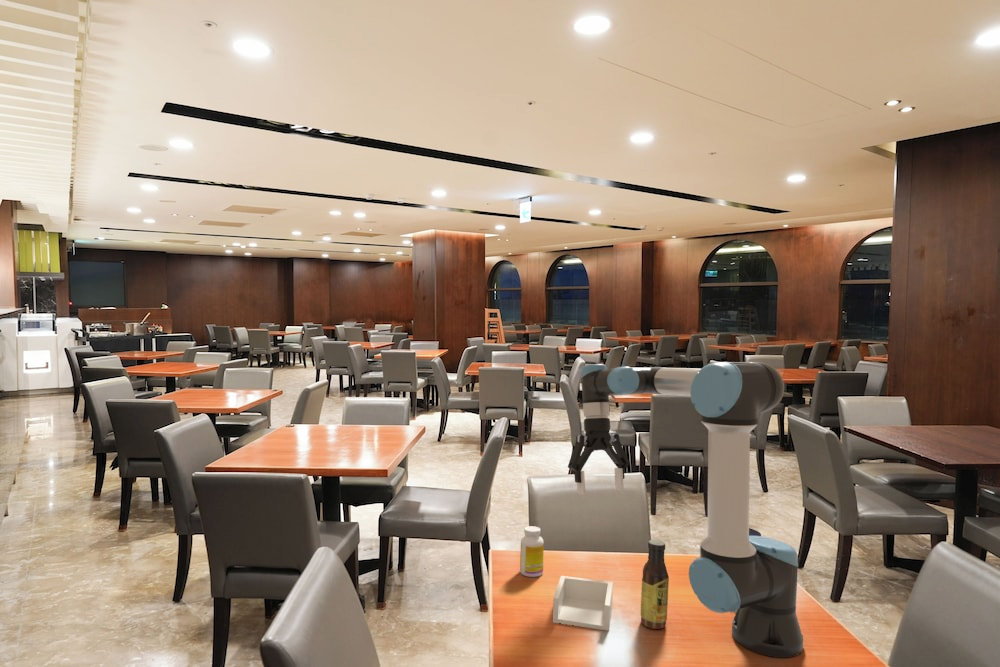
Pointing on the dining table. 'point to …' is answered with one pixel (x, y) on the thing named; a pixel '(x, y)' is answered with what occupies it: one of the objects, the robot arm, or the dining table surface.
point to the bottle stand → (583, 603)
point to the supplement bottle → (531, 552)
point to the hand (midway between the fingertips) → (601, 492)
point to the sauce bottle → (654, 587)
